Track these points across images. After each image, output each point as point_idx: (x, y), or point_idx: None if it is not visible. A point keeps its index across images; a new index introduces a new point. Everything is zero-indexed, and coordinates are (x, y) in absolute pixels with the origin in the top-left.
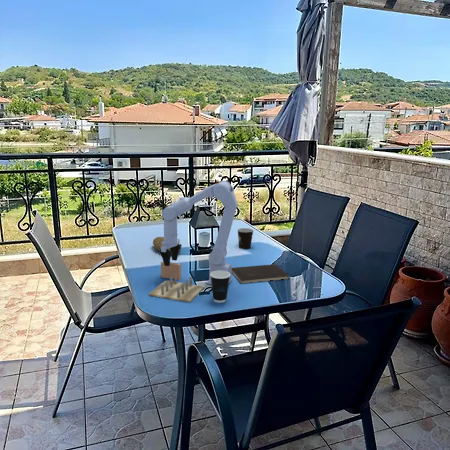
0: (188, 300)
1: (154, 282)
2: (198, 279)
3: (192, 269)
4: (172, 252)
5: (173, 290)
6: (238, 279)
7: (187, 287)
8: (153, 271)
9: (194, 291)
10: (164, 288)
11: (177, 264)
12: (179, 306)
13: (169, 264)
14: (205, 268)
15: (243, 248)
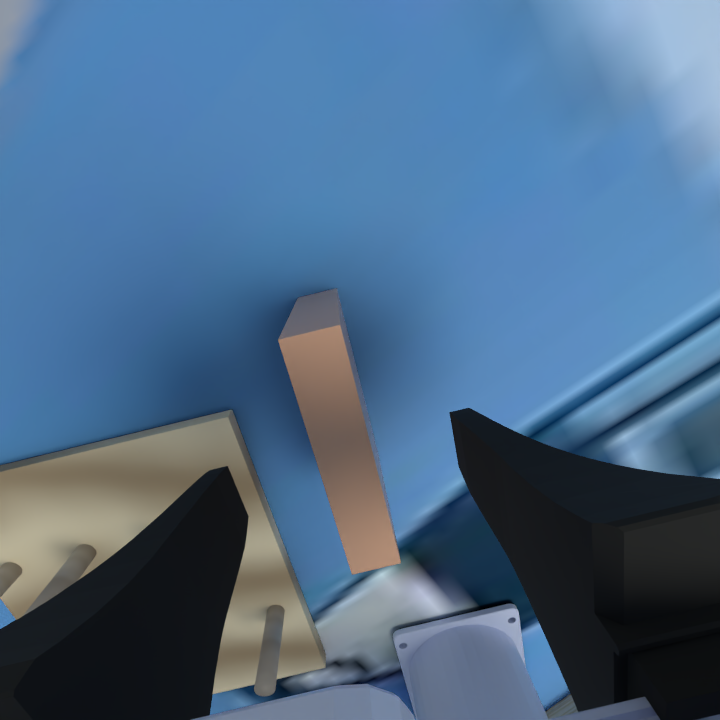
0: None
1: (158, 336)
2: (435, 555)
3: (605, 406)
4: (507, 486)
5: None
6: (551, 714)
7: None
8: (373, 109)
9: (219, 671)
10: (97, 515)
11: (358, 548)
12: None
13: (241, 536)
14: (667, 471)
15: None
